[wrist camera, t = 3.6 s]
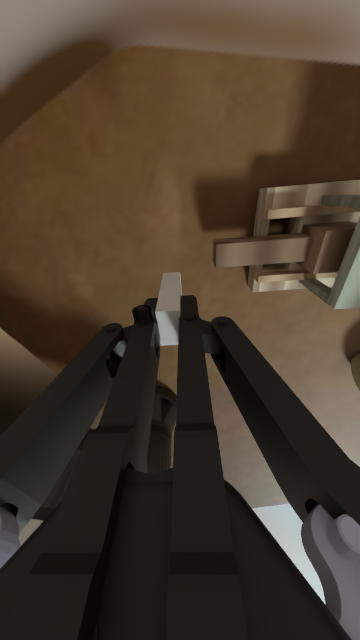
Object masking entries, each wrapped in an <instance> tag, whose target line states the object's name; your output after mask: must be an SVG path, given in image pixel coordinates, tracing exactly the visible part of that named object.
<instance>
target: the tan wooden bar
mask: <svg viewBox="0 0 360 640" xmlns="http://www.w3.org/2000/svg"><path fill="white" fill-rule="evenodd" d="M356 225H357V222H351V221H345V222H332V223H320V224H307V225H303V228H302V232H301V233H292V234H279V235H266V236H253V237H240V238H227V239H215V240H213V263H214V265H215V267H216V268H219V267H233V266H247V265H261V264H275V263H289V262H295V263H297V264H298V265H300V266H301V267H303V268H305V269H306V270H308V271H309V272H311V273H312V274H318V273H333V272H339V269H340V266H341V264H342V261H343V259H344V256H345V253H346V251H347V248H348V246H349V243H350V240H351V238H352V235H353V232H354V230H355V227H356Z"/></svg>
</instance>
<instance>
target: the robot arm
mask: <svg viewBox="0 0 360 640" xmlns="http://www.w3.org/2000/svg"><path fill="white" fill-rule="evenodd" d="M132 313H133V317H134V321H135V322H134V325H132V326H129V327H125V328H122V325H120V324H118V323H112V324H108V325H106V326H105V327H103V328H102V329H101V330H100V331H99V332H98V333H97V334H96V335H95V336H94V338H93V339H92V340H91V341H90V342H89V343H88V344H87V345H86V346H85V347H84V348H83V349H82V350H81V351H80V352H79V353H78V355H77V356H76V357H75V358H74V359H73V360H72V361H71V362H70V363H69V364H68V365H67V366H66V367H65V368H64V369H63V370H62V372H61V373H60V374H59V375H58V376H57V377H56V378H55V379H54V380H53V381H52V382H51V383H50V384H49V385H48V386H47V387H46V389H45V390H44V391H43V392H42V393H41V394H40V395H39V396H38V397H37V398H36V399H35V400H34V401H33V402H32V404H30V406H29V407H28V408H27V409H26V410H25V411H24V412H23V413H22V414H21V415H20V416H19V417H18V418H17V419H16V421H15V422H14V423H13V424H12V425H11V426H10V427H9V428H8V429H7V430H6V431H5V432H4V433H3V434H2V435H1V437H0V640H360V467H359V466H357V465H356V464H355V463H354V462H353V461H351V460H350V459H349V458H348V457H347V455H346V454H345V453H344V452H343V451H342V450H341V448H340V447H339V446H338V445H337V444H336V442H335V441H334V440H333V439H332V438H331V436H330V435H329V434H328V433H327V432H326V431H325V429H324V428H323V427H322V426H321V425H320V423H319V422H318V421H317V420H316V419H315V417H314V416H313V415H312V414H311V413H310V412H309V410H308V409H307V408H306V407H305V406H304V404H303V403H302V402H301V401H300V400H299V398H298V397H297V396H296V395H295V394H294V393H293V391H292V390H291V389H290V388H289V387H288V385H287V384H286V383H285V382H284V381H283V379H282V378H281V377H280V376H279V375H278V374H277V372H276V371H275V370H274V369H273V368H272V366H271V365H270V364H269V363H268V362H267V360H266V359H265V358H264V357H263V356H262V355H261V353H260V352H259V351H258V350H257V349H256V347H255V346H254V345H253V344H252V343H251V341H250V340H249V339H248V338H247V337H246V336H245V334H244V333H243V332H242V331H241V330H240V328H239V327H238V326H237V325H236V324H235V322H234V321H233V320H232V319H230V318H228V317H216V318H214V319H213V320H212V322H208V321H204V320H202V319H201V318H200V317H199V314H198V306H197V299H196V297H195V296H194V295H189V296H182V289H181V276H180V272H172V273H163V277H162V282H161V287H160V292H159V296H158V298H149V299H147V300H146V301H145V303H144V305H139V306H136V307H135V308H133V310H132ZM160 343H161V345H178V376H177V397H176V395H175V394H173V393H172V392H171V391H169V390H167V389H165V388H162V387H158V386H156V381H157V373H158V365H159V357H160V346H159V344H160ZM205 353H209V354H211V357H212V359H213V361H214V363H215V365H216V366H217V368H218V370H219V372H220V374H221V376H222V378H223V380H224V382H225V384H226V385H227V387H228V389H229V391H230V393H231V395H232V397H233V399H234V401H235V403H236V405H237V406H238V408H239V410H240V412H241V414H242V416H243V418H244V420H245V422H246V424H247V425H248V427H249V429H250V431H251V433H252V435H253V437H254V439H255V441H256V443H257V445H258V446H259V448H260V450H261V452H262V454H263V456H264V458H265V460H266V462H267V464H268V465H269V467H270V469H271V471H272V473H273V475H274V477H275V479H276V481H277V483H278V484H279V486H280V488H281V490H282V491H283V493H284V495H285V497H286V498H287V500H288V502H289V503H290V504H291V506H292V507H293V509H294V510H295V512H296V513H297V515H298V516H299V518H300V519H301V520H302V522H303V524H302V529H301V537H302V543H303V546H304V549H305V552H306V554H307V556H308V558H309V560H310V561H311V563H312V565H313V567H314V569H315V570H316V572H317V574H318V576H319V579H320V581H321V584H322V587H323V591H324V596H325V601H326V605H325V604H324V603H323V601H322V600H321V599H320V597H319V596H318V595H317V593H316V592H315V591H314V590H313V588H312V587H311V586H310V585H309V583H308V582H307V580H306V579H305V578H304V577H303V575H302V574H301V573H300V571H299V570H298V569H297V567H296V566H295V565H294V563H293V562H292V561H291V559H290V558H289V557H288V556H287V554H286V553H285V552H284V550H283V549H282V548H281V546H280V545H279V544H278V543H277V541H276V540H275V539H274V537H273V536H272V535H271V533H270V532H269V531H268V529H267V528H266V527H265V525H264V524H263V523H262V522H261V520H260V519H259V518H258V516H257V515H256V514H255V512H254V511H253V510H252V508H251V507H250V506H249V504H248V503H247V502H246V501H245V499H244V498H243V497H242V495H241V494H240V493H239V492H238V491H237V490H236V489H235V488H234V487H233V486H232V485H231V484H229V483H228V482H227V481H225V480H224V478H223V471H222V464H221V457H220V450H219V443H218V436H217V430H216V426H215V425H214V419H213V412H212V404H211V397H210V390H209V382H208V375H207V367H206V360H205ZM108 356H109V357H108ZM107 357H108V359H107ZM107 399H108V400H107ZM106 400H107V403H106V406H105V408H104V411H103V414H102V417H101V420H100V423H99V425H98V427H97V428H96V429H91V428H90V426H91V425H92V423H93V421H94V420H95V418H96V416H97V415H98V413H99V412H100V410H101V408H102V407H103V405H104V403H105V402H106ZM175 423H176V427H175V433H174V460H173V468H171V436H172V431H173V428H174V426H175Z"/></svg>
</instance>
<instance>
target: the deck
mask: <svg viewBox="0 0 360 640" xmlns="http://www.w3.org/2000/svg"><path fill="white" fill-rule="evenodd" d="M280 218H290V220H289V225H288V229H287V234H292V233H301V232H302V228H303V225H307V224H320V223H332V222H345V221H351V222H357V225H356V227H355V230H354V232H353V235H352V238H351V240H350V243H349V246H348V248H347V251H346V253H345V256H344V259H343V261H342V264H341V266H340V269H339V272H333V273H318V274H312V273H311V272H309V271H308V270H306V269H305V268H303V267H301V266H300V265H298V264H297V263H295V262H289V263H275V264H261V265H250V266H249V274H248V282H247V285H248V286H249V288H250V289H251V291H252V292H260V291H275V290H291V289H306V288H307V289H309V290H310V291H311V292H313V293H314V294H315V295H316V296H318V297H319V298H320V299H322V300H323V301H324V302H325V303H327V304H328V305H329V306H331V307H332V308H333V309H345V308H360V180H349V181H338V182H326V183H315V184H303V185H292V186H280V187H269V188H259V193H258V201H257V209H256V217H255V226H254V234H253V236H266V235H268V231H269V225H270V219H280ZM329 287H332V289H331V288H329Z"/></svg>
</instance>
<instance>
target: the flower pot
mask: <svg viewBox="0 0 360 640" xmlns="http://www.w3.org/2000/svg"><path fill="white" fill-rule="evenodd" d="M351 371H352V375H353V378H354V381H355V383H356V385H357V387H358V389H359V390H360V353H359V354H357V355H356V356H354V357H353V359H352V360H351Z"/></svg>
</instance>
